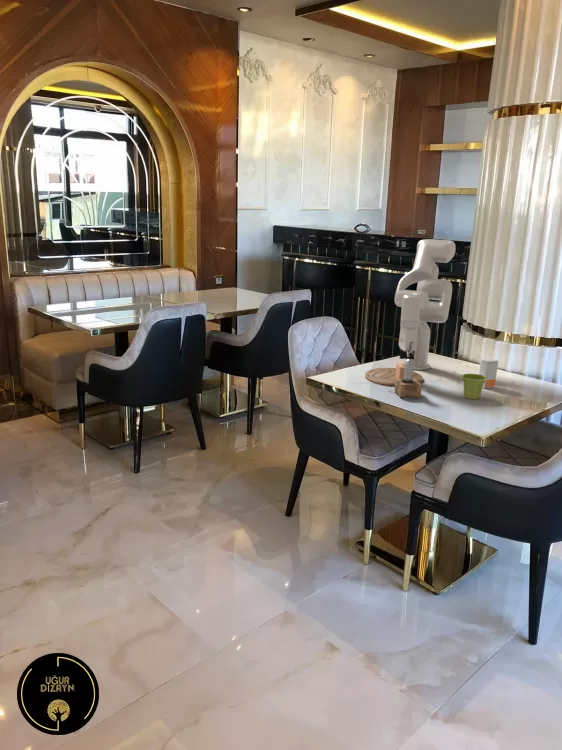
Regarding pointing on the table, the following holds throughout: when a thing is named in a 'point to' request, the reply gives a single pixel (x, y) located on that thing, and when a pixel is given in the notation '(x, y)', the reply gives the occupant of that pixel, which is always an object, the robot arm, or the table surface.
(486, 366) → the skincare box
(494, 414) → the table surface
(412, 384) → the wooden box
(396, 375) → the pink cube with hole
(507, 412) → the table surface
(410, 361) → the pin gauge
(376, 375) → the trivet
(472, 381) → the plant pot
